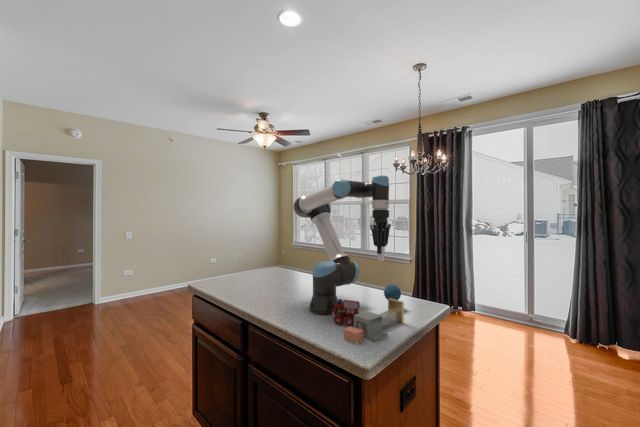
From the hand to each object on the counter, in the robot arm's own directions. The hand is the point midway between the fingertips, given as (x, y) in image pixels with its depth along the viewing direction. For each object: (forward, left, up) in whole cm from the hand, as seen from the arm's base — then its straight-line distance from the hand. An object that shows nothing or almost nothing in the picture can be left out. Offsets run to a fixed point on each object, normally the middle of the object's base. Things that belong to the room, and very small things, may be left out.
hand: (380, 260), depth 131 cm
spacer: (-6, -25, -25) cm, 35 cm away
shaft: (+1, -12, -26) cm, 29 cm away
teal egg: (+4, +15, -27) cm, 31 cm away
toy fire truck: (-14, -11, -27) cm, 32 cm away
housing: (-3, -19, -26) cm, 33 cm away
